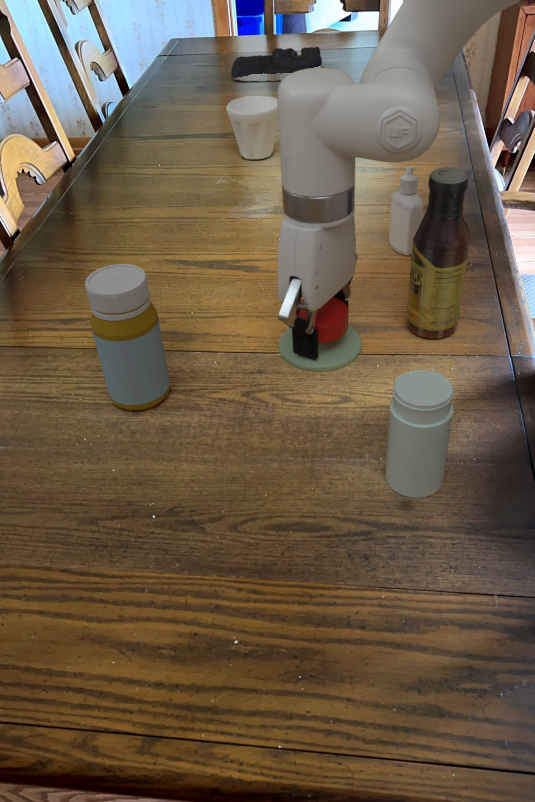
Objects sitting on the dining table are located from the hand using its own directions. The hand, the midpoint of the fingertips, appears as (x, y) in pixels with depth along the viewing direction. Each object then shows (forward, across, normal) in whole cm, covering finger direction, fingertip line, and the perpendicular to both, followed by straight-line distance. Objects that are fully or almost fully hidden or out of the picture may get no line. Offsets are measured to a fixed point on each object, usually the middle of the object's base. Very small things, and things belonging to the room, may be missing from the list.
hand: (321, 339), depth 86 cm
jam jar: (+1, +14, +19) cm, 24 cm away
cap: (-4, 0, 0) cm, 4 cm away
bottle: (+1, +18, -13) cm, 22 cm away
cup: (+1, -47, -42) cm, 63 cm away
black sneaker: (+1, -93, -68) cm, 115 cm away
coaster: (+1, 0, 0) cm, 1 cm away
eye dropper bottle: (+1, -27, -2) cm, 27 cm away
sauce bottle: (+1, -10, +10) cm, 14 cm away
